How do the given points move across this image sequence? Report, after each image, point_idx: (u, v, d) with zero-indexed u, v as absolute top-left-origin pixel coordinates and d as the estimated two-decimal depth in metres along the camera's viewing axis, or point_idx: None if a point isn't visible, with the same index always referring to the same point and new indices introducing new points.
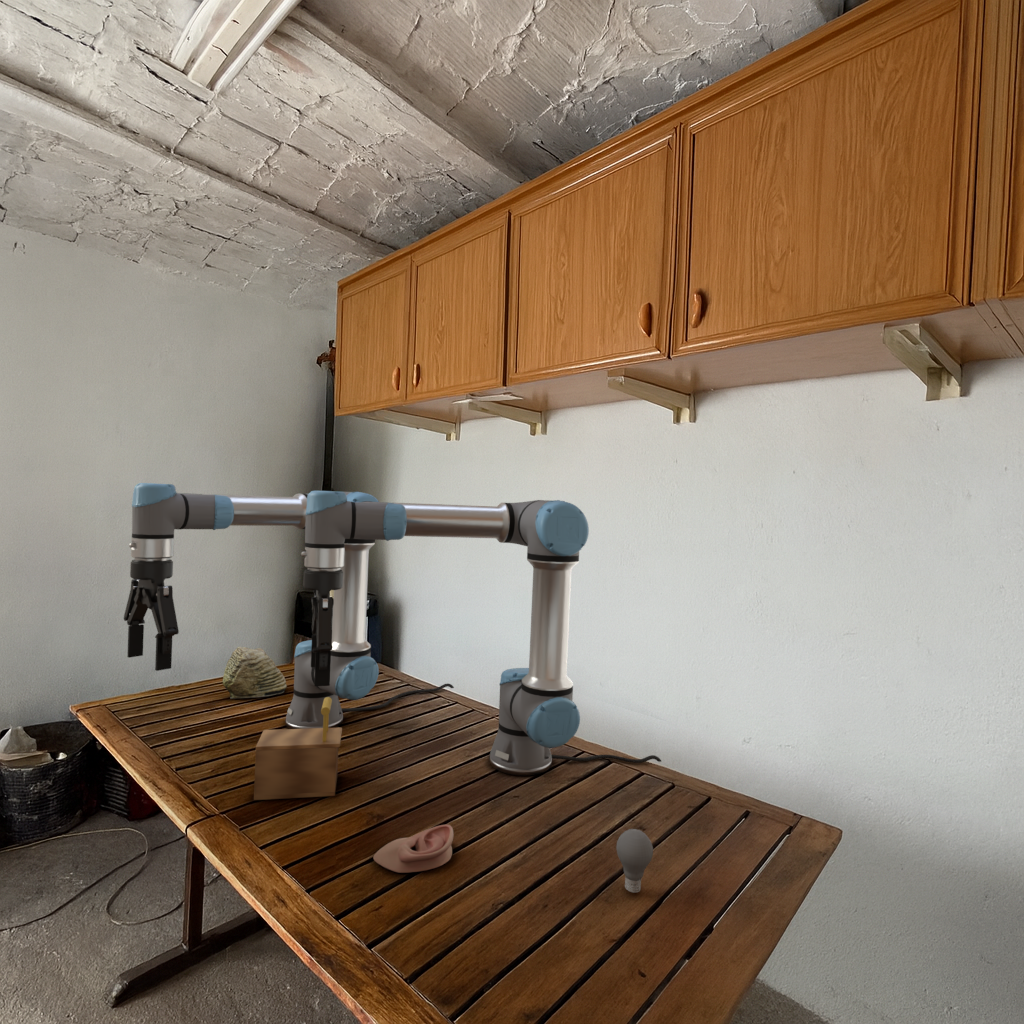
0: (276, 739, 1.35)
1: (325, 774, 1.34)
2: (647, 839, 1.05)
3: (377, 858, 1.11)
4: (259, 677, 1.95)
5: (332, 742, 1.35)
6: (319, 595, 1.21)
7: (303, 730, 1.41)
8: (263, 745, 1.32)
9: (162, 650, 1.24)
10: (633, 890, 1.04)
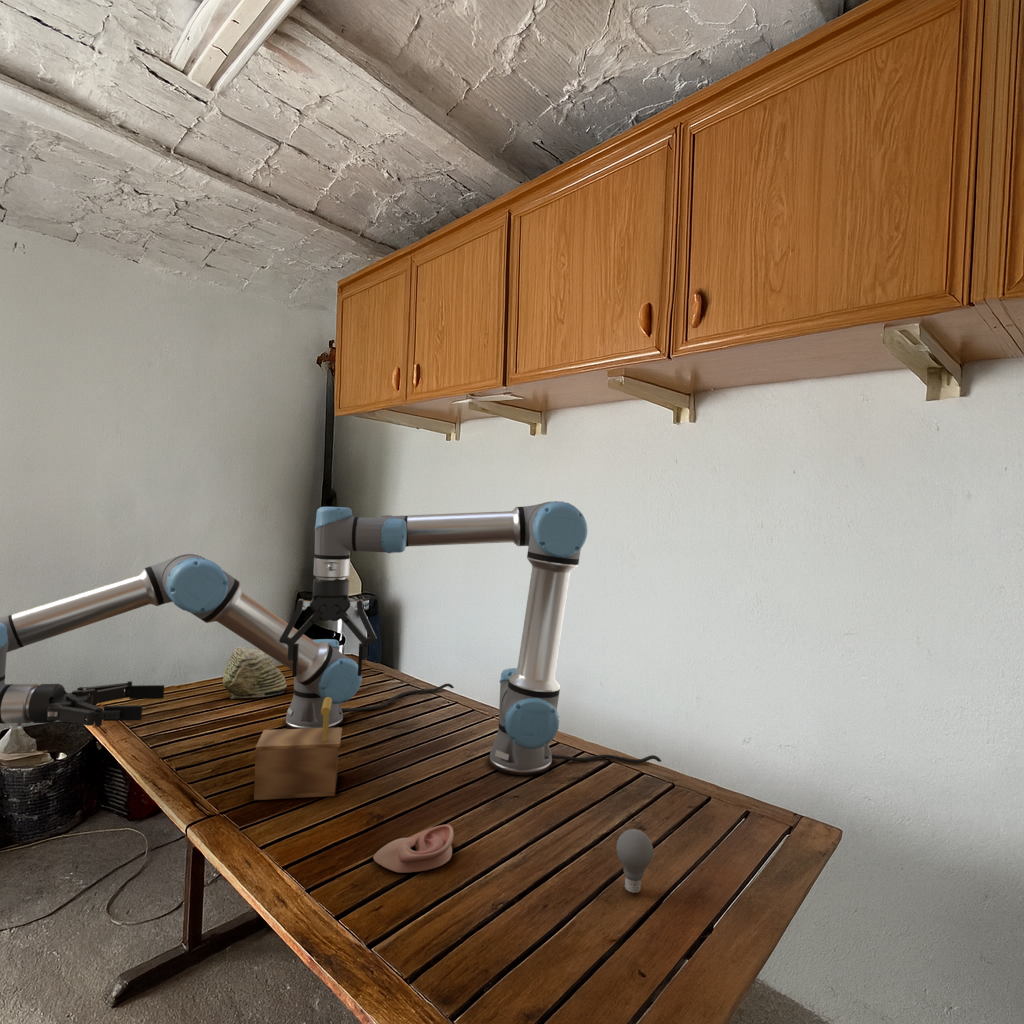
0: (276, 739, 1.35)
1: (325, 774, 1.34)
2: (647, 839, 1.05)
3: (377, 858, 1.11)
4: (259, 677, 1.95)
5: (332, 742, 1.35)
6: (347, 600, 1.38)
7: (303, 730, 1.41)
8: (263, 745, 1.32)
9: None
10: (633, 890, 1.04)
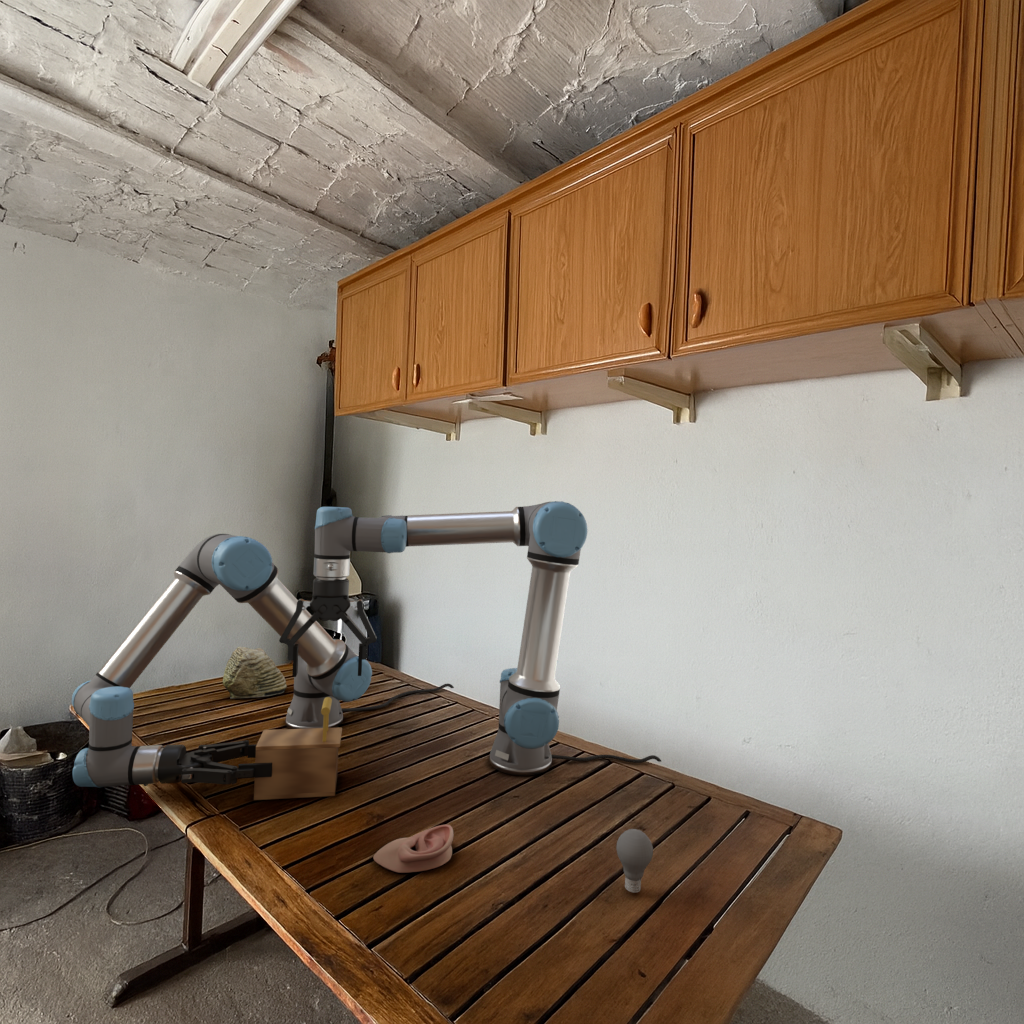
0: (276, 739, 1.35)
1: (325, 774, 1.34)
2: (647, 839, 1.05)
3: (377, 858, 1.11)
4: (259, 677, 1.95)
5: (332, 742, 1.35)
6: (347, 600, 1.38)
7: (303, 730, 1.41)
8: (263, 745, 1.32)
9: None
10: (633, 890, 1.04)
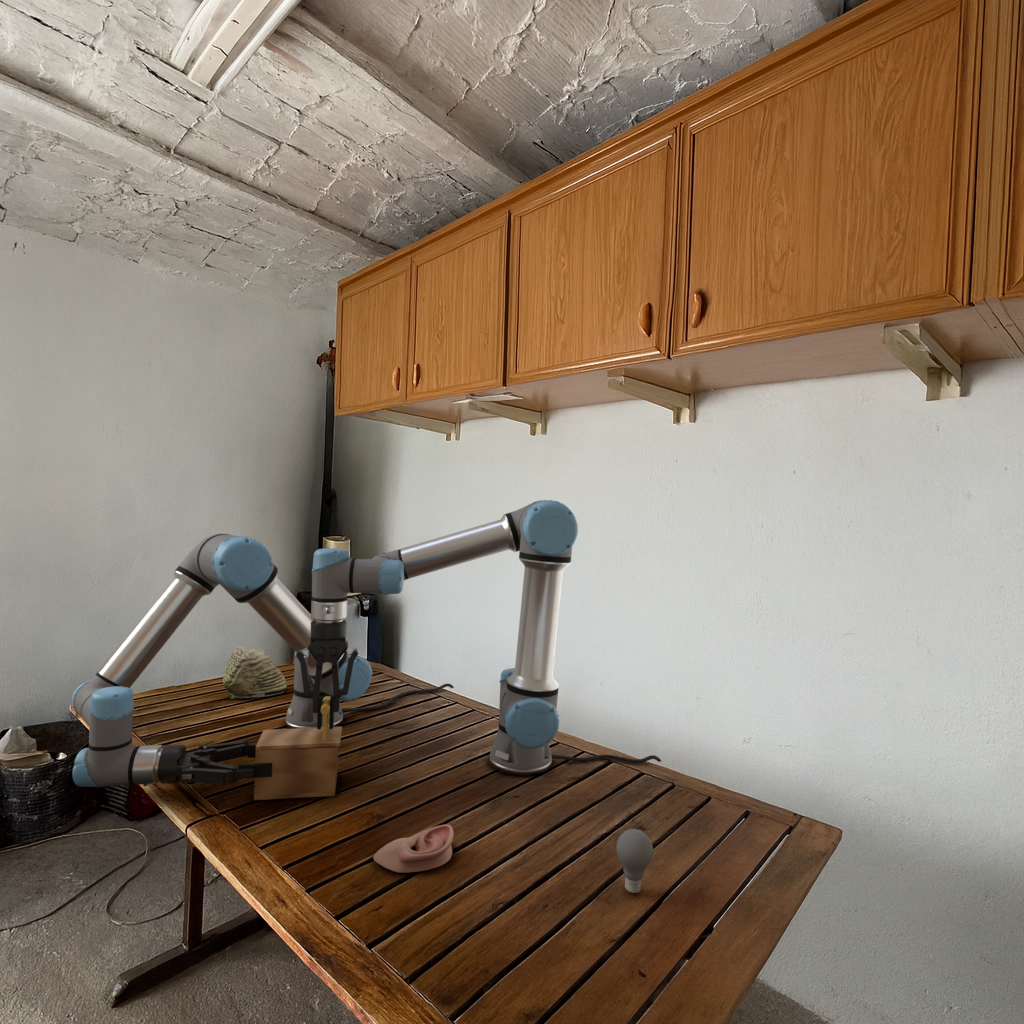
0: (276, 739, 1.35)
1: (325, 774, 1.34)
2: (647, 839, 1.05)
3: (377, 858, 1.11)
4: (259, 677, 1.95)
5: (332, 741, 1.35)
6: (345, 641, 1.38)
7: (303, 730, 1.41)
8: (263, 745, 1.32)
9: None
10: (633, 890, 1.04)
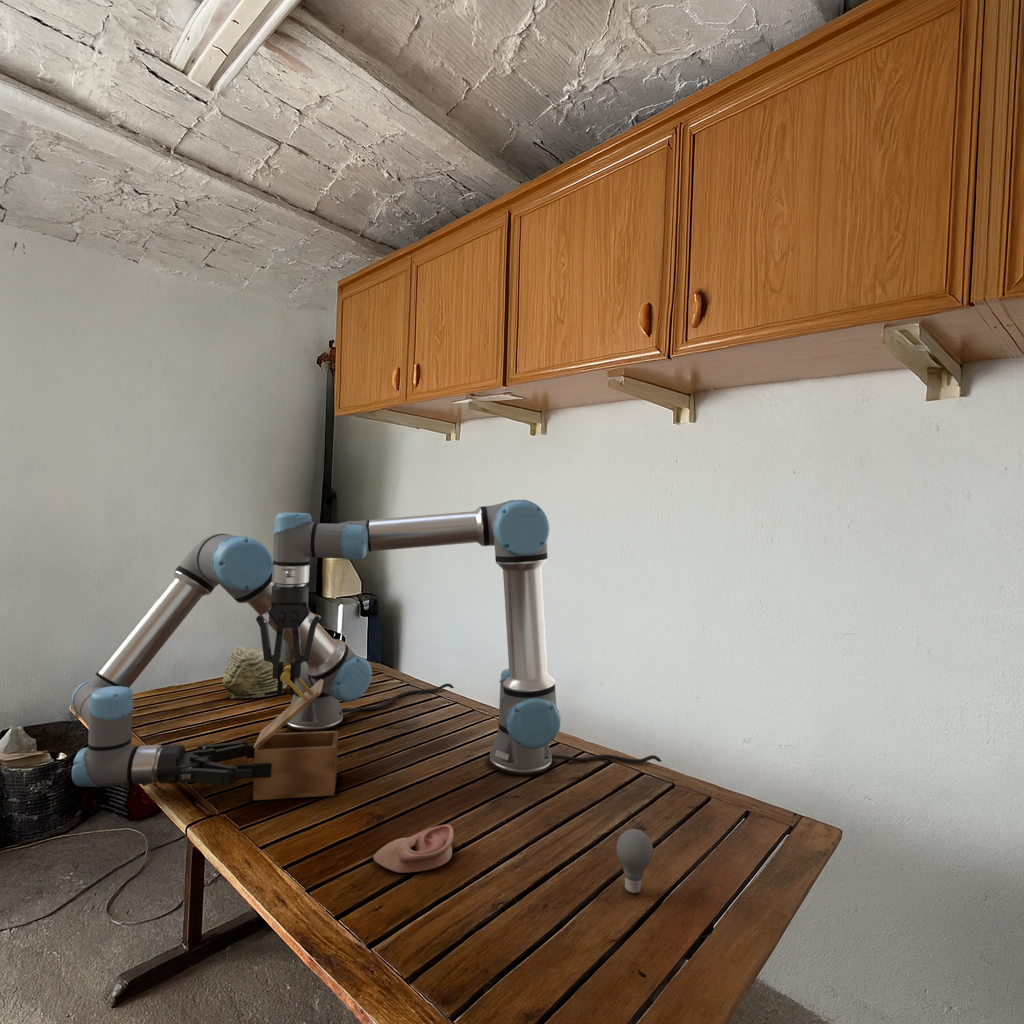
0: (269, 729, 1.35)
1: (324, 774, 1.34)
2: (647, 839, 1.05)
3: (377, 858, 1.11)
4: (259, 677, 1.95)
5: (311, 695, 1.34)
6: (306, 607, 1.36)
7: (291, 706, 1.40)
8: (259, 741, 1.31)
9: None
10: (633, 890, 1.04)
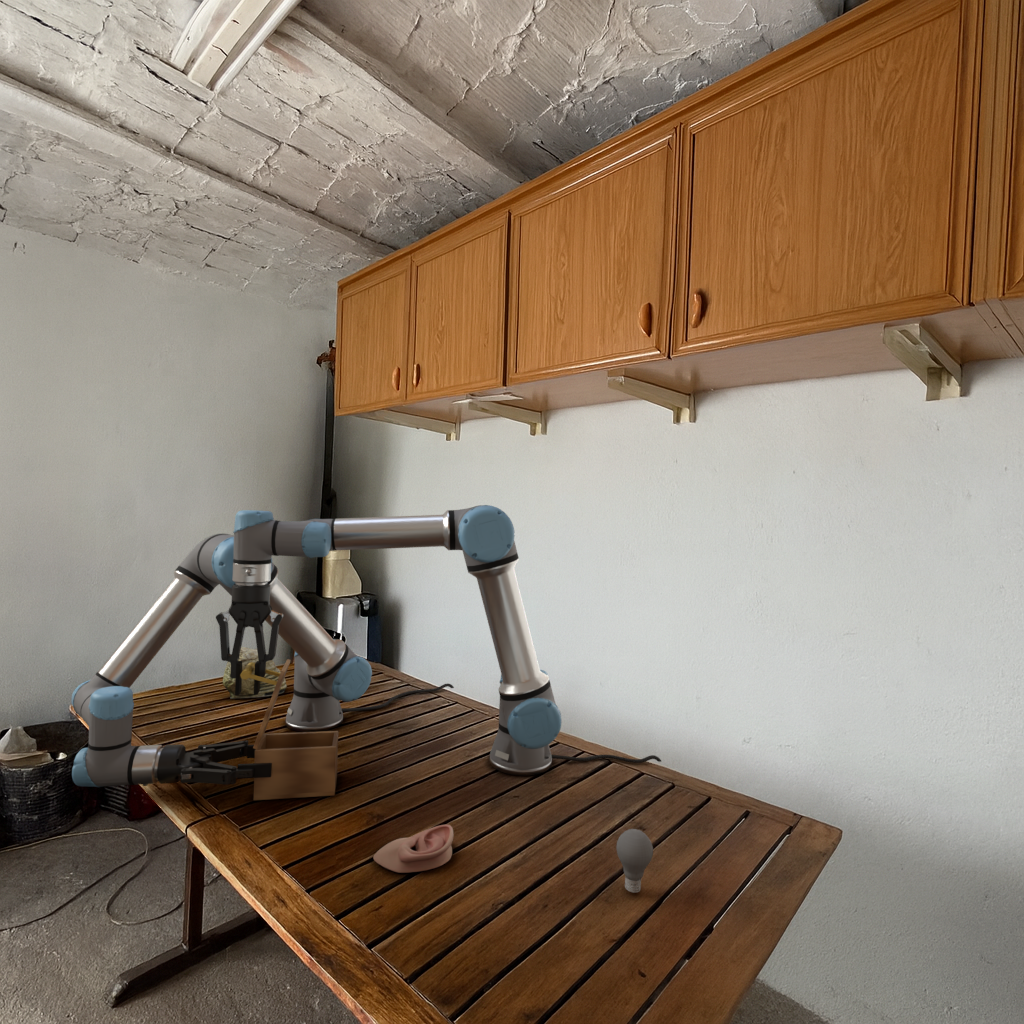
0: None
1: (324, 774, 1.34)
2: (647, 839, 1.05)
3: (377, 858, 1.11)
4: None
5: None
6: (268, 606, 1.34)
7: None
8: None
9: None
10: (633, 890, 1.04)
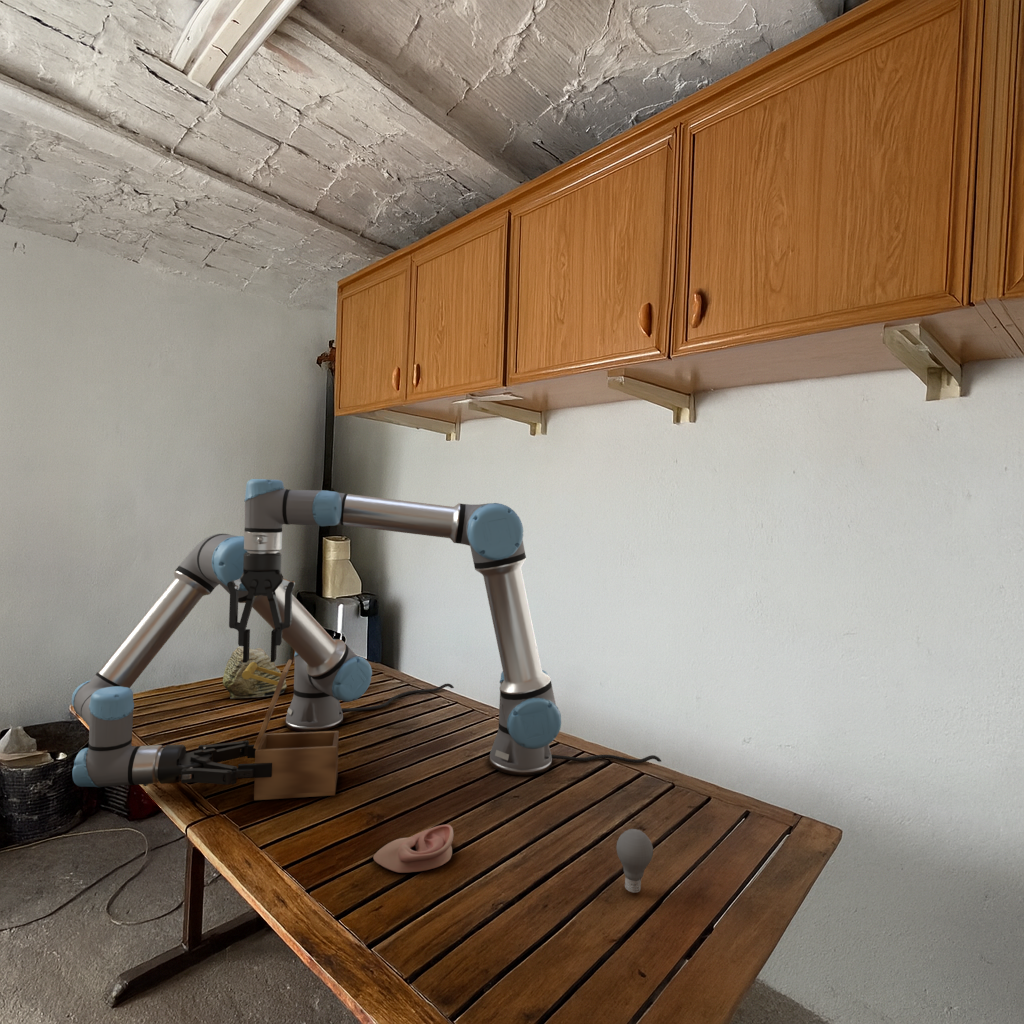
0: None
1: (325, 774, 1.34)
2: (647, 839, 1.05)
3: (377, 858, 1.11)
4: None
5: None
6: (279, 574, 1.35)
7: None
8: (256, 740, 1.31)
9: None
10: (633, 890, 1.04)
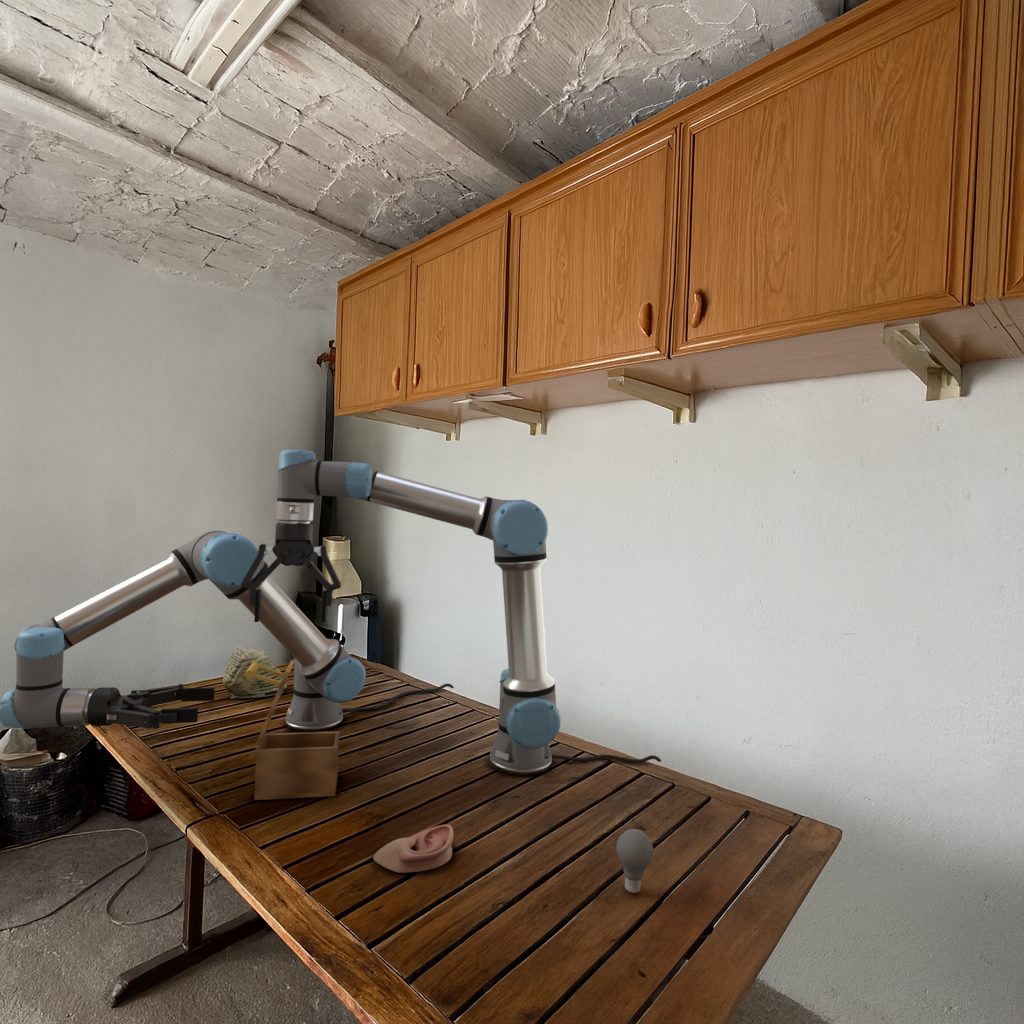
0: None
1: (325, 774, 1.34)
2: (647, 839, 1.05)
3: (377, 858, 1.11)
4: None
5: None
6: (311, 545, 1.36)
7: None
8: (257, 740, 1.31)
9: None
10: (633, 890, 1.04)
